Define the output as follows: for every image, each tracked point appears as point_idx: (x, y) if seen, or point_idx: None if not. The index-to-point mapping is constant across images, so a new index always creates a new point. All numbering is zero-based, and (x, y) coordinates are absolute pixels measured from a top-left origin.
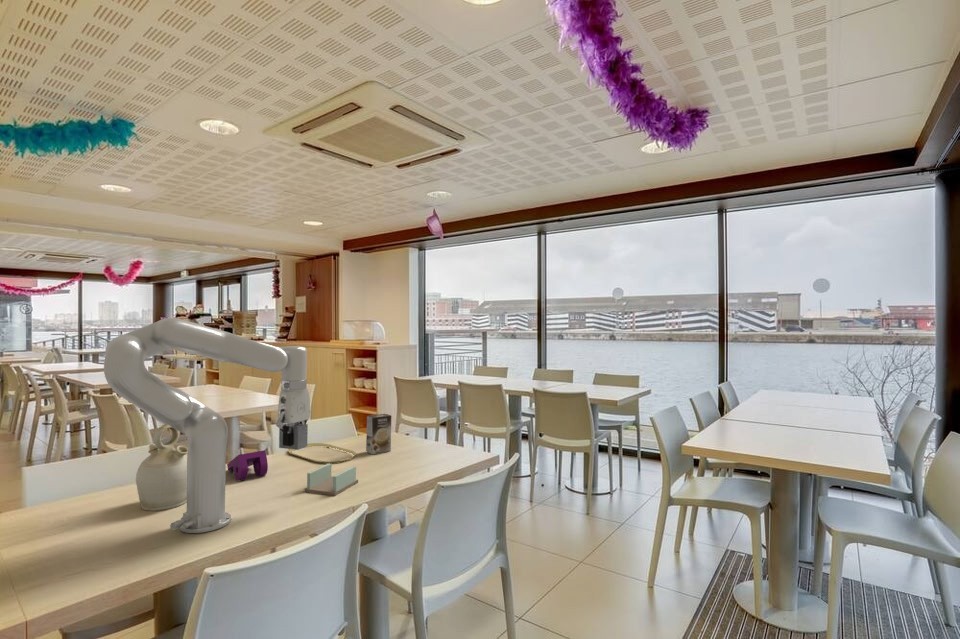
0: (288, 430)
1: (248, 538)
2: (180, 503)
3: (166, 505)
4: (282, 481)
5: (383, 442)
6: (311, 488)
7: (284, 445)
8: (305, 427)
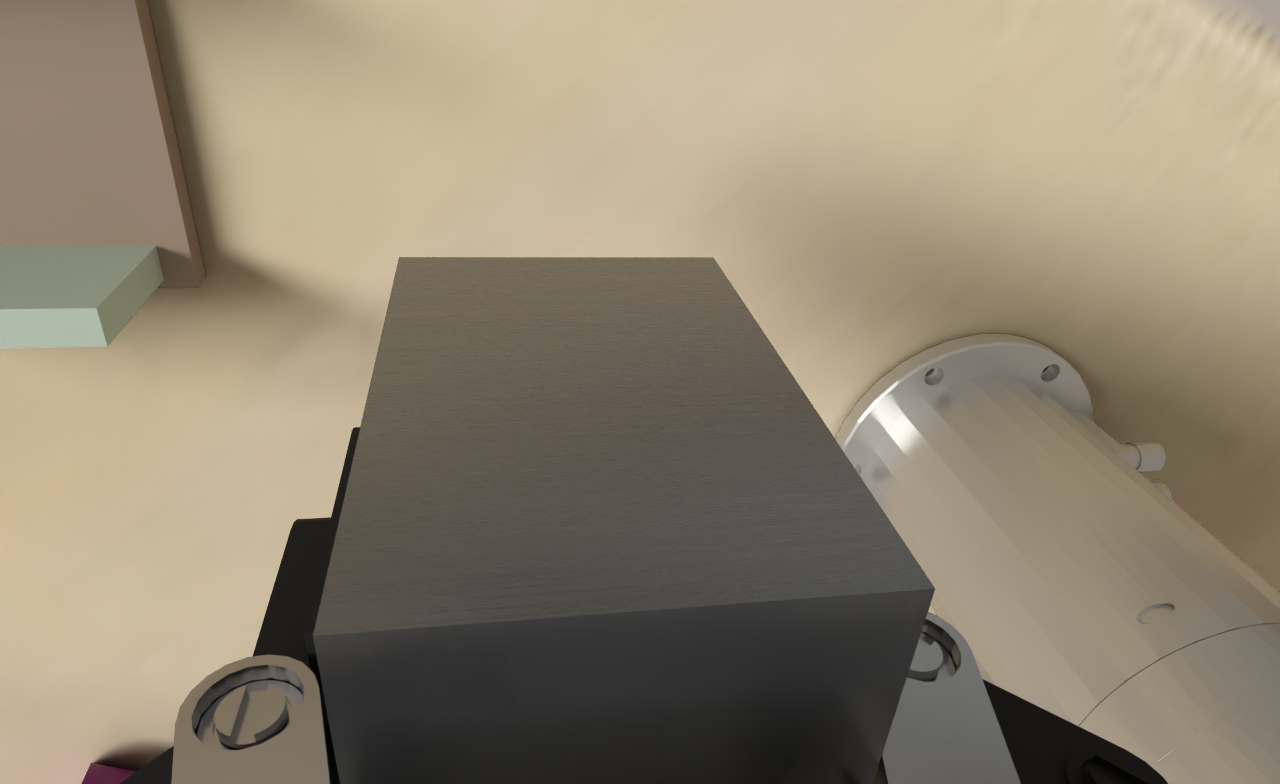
0: (977, 682)
1: (1150, 44)
2: None
3: None
4: (115, 590)
5: None
6: (154, 227)
7: None
8: (466, 544)
